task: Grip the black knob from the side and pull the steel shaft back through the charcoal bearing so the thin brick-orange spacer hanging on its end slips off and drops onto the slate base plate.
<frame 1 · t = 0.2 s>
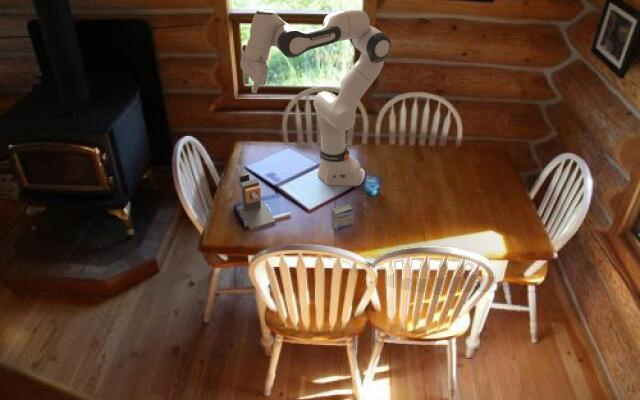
hand: (249, 88, 204), 52 cm above the table, tool tilted 20°, fingers open, 8 cm apart
bearing stand: (259, 220, 220), on the table
medicine box: (341, 225, 218), on the table
shaft: (249, 187, 220), point 11 cm above the table, slide at 0.0 cm, touching spacer
spacer: (253, 200, 219), point 7 cm above the table, touching shaft
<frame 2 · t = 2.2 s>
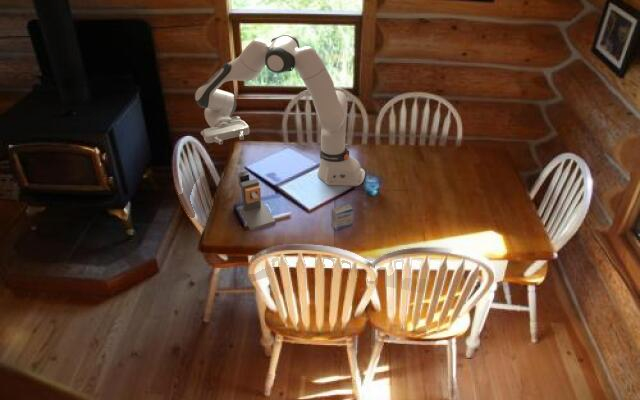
hand: (231, 140, 225), 24 cm above the table, tool horizontal, fingers open, 8 cm apart
nothing on the table moved.
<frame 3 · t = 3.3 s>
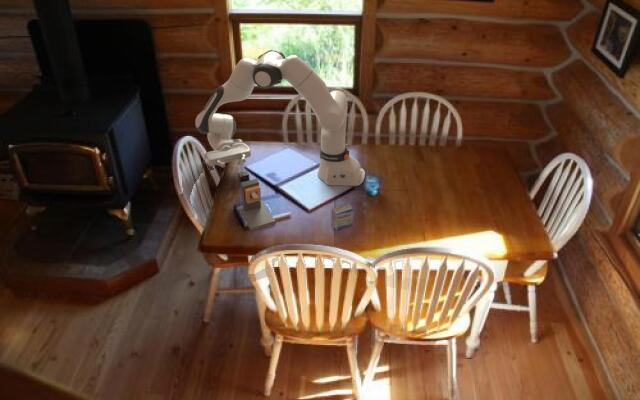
hand: (233, 163, 233), 12 cm above the table, tool horizontal, fingers open, 8 cm apart
nothing on the table moved.
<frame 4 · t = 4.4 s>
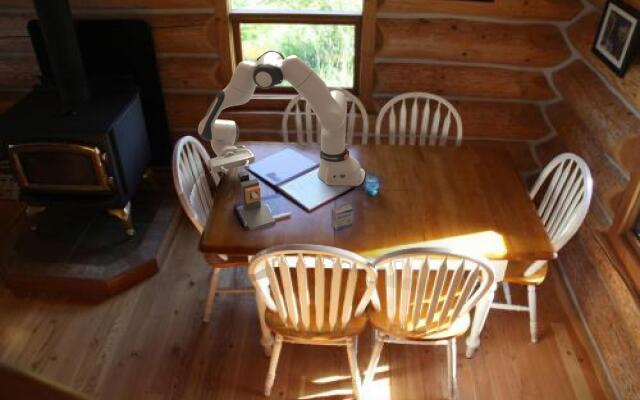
hand: (237, 170, 231), 11 cm above the table, tool horizontal, fingers open, 8 cm apart
nothing on the table moved.
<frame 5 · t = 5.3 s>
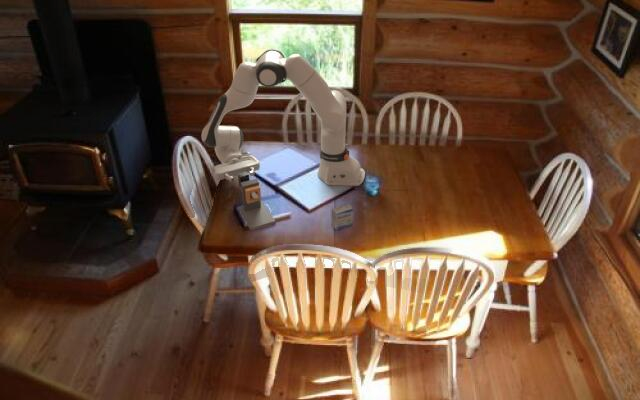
hand: (242, 177, 226), 11 cm above the table, tool horizontal, fingers open, 8 cm apart
nothing on the table moved.
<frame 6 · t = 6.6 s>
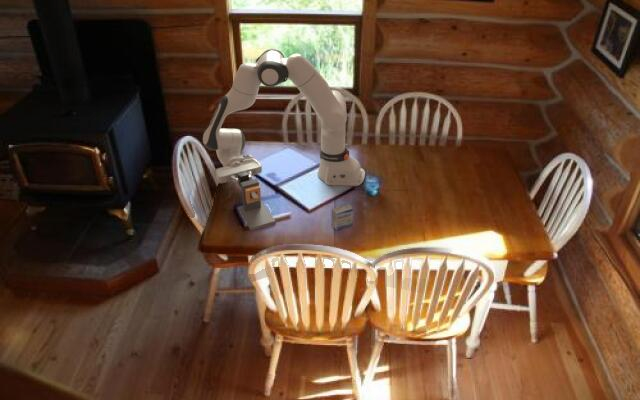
hand: (244, 180, 224), 11 cm above the table, tool horizontal, fingers closed on shaft, 4 cm apart
shaft: (249, 187, 220), point 11 cm above the table, slide at 0.0 cm, touching gripper, spacer
everything else where it was.
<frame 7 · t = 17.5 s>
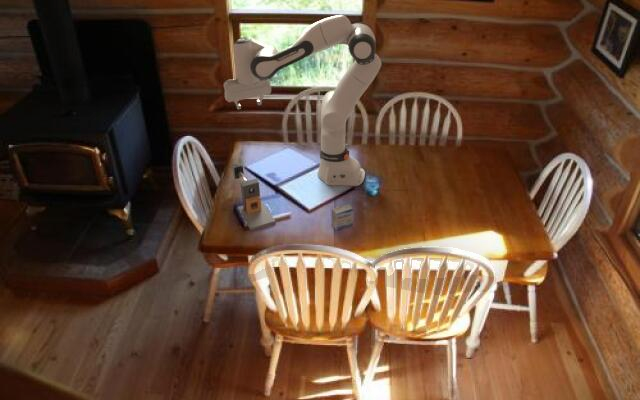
hand: (249, 106, 227), 35 cm above the table, tool pointing down, fingers open, 8 cm apart
shaft: (243, 178, 225), point 11 cm above the table, slide at 7.9 cm
spacer: (254, 210, 223), point 1 cm above the table, touching bearing stand
everything else where it was.
at the end: shaft slide at 7.9 cm; spacer point 1.5 cm above the table; spacer touching bearing stand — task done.
